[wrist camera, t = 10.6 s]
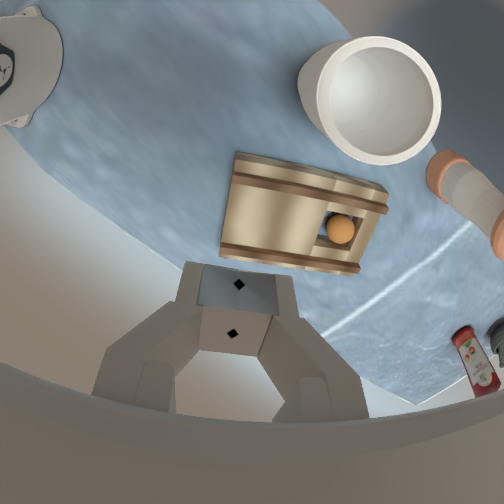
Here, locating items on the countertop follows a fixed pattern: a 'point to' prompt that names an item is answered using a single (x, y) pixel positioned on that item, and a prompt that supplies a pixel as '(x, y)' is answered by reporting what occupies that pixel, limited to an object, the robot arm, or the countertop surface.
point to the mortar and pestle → (498, 339)
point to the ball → (340, 229)
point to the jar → (371, 98)
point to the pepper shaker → (469, 195)
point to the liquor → (476, 363)
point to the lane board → (296, 215)
